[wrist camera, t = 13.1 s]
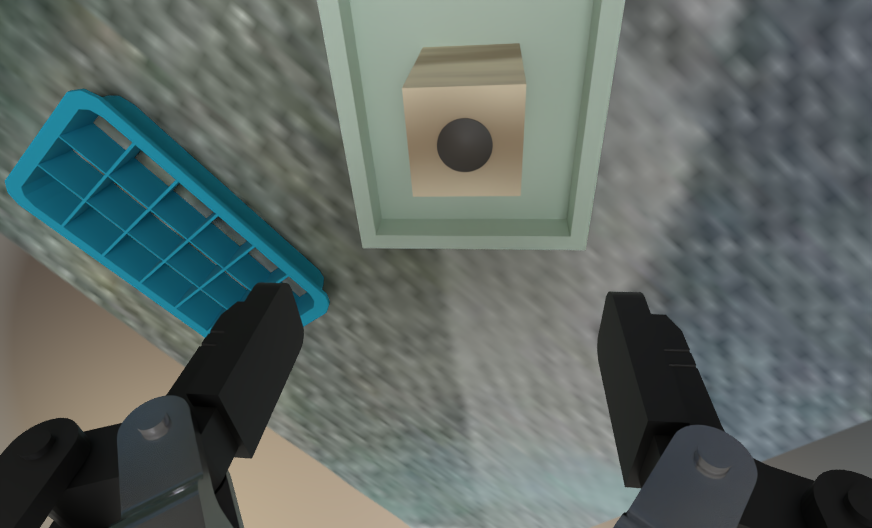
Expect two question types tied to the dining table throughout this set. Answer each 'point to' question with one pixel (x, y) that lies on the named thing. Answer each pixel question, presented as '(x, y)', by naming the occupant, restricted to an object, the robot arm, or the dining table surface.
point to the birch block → (466, 120)
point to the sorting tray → (543, 128)
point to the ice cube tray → (90, 231)
